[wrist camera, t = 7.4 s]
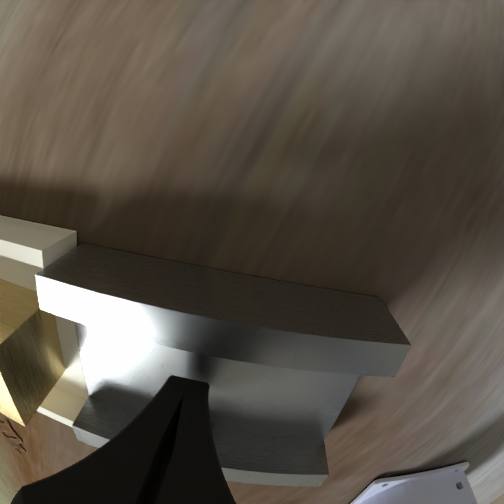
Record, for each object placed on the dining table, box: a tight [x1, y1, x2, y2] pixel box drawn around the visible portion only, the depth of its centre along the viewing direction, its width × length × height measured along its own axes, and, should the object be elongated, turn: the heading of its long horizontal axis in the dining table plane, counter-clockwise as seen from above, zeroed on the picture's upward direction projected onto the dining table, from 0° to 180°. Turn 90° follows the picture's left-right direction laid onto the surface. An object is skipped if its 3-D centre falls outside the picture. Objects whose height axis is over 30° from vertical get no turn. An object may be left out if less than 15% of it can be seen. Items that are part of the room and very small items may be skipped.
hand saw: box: [0, 419, 26, 454], centre depth 20 cm, size 24×5×1 cm, turn 5°
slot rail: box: [35, 243, 411, 486], centre depth 10 cm, size 11×8×3 cm
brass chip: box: [0, 278, 66, 427], centre depth 9 cm, size 4×4×4 cm
